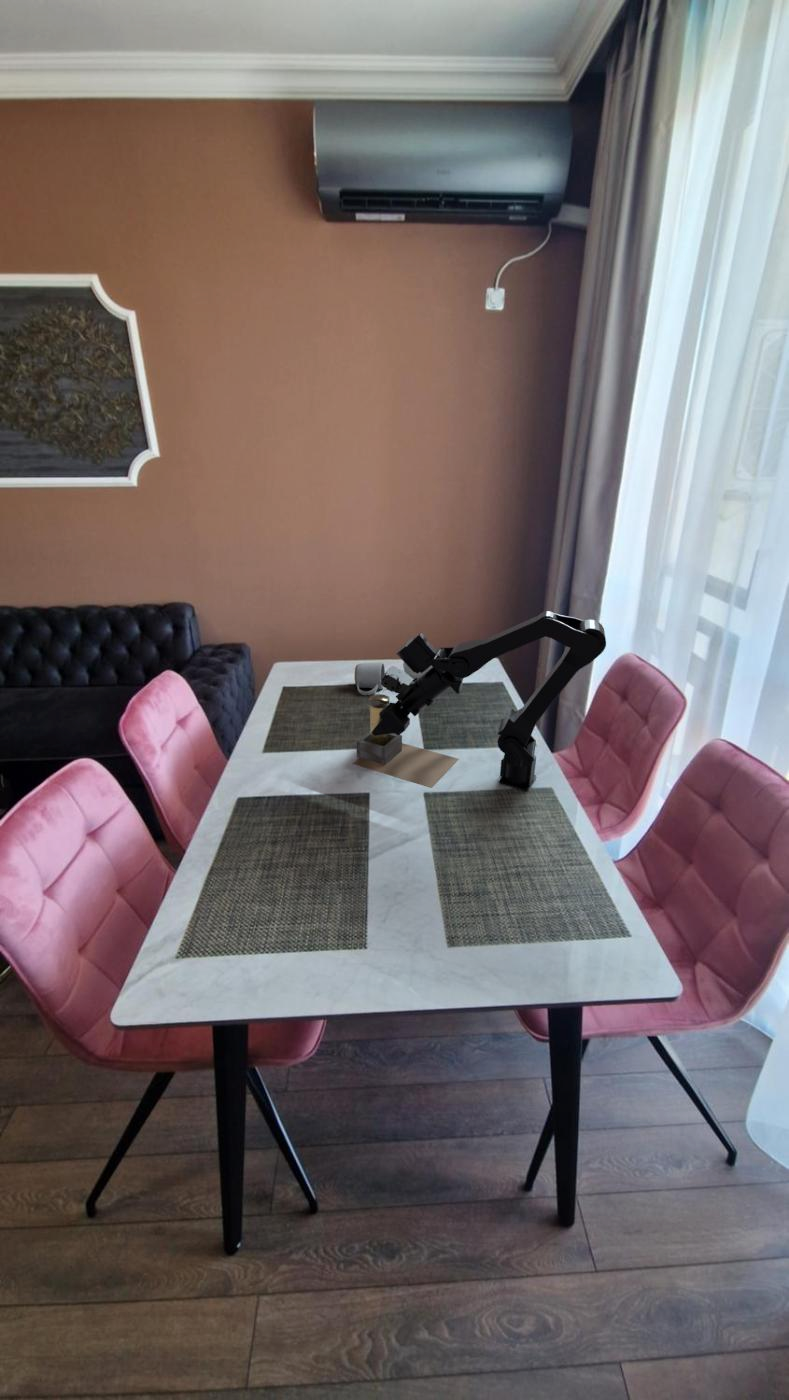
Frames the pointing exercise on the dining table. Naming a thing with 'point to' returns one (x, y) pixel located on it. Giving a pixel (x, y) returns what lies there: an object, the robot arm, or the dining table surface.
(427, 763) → the board with square socket
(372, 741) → the brass peg
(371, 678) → the ceramic mug
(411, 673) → the donut
